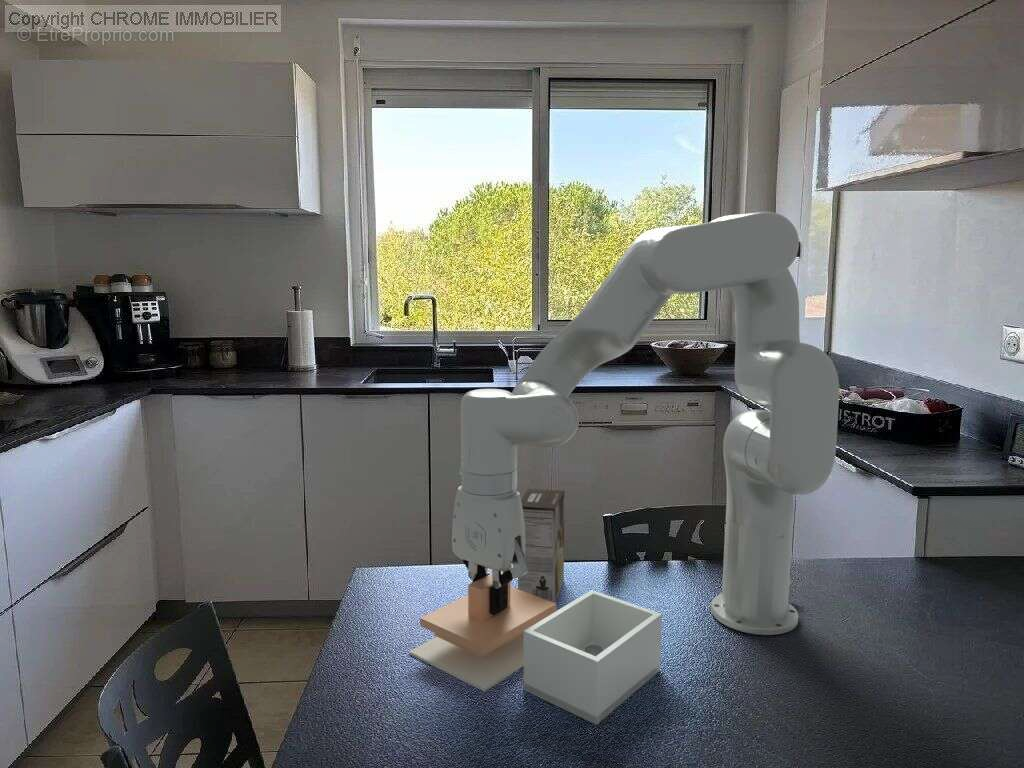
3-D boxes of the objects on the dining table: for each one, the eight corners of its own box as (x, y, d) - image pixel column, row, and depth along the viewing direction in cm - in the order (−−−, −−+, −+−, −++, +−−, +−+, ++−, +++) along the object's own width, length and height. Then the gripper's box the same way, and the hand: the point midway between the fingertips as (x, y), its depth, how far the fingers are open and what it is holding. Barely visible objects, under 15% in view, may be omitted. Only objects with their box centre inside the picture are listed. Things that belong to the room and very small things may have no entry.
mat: (495, 607, 115) (495, 604, 114) (568, 636, 106) (568, 633, 106) (409, 653, 101) (409, 651, 101) (484, 691, 92) (484, 689, 92)
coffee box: (527, 577, 125) (527, 487, 122) (564, 580, 124) (565, 489, 121) (516, 602, 116) (516, 505, 114) (556, 605, 115) (557, 507, 112)
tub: (590, 642, 104) (591, 589, 102) (660, 670, 97) (661, 613, 95) (523, 689, 92) (523, 631, 91) (596, 724, 85) (597, 661, 84)
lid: (495, 597, 112) (495, 553, 111) (556, 621, 105) (556, 573, 104) (420, 636, 101) (419, 586, 99) (482, 666, 93) (482, 613, 92)
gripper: (428, 475, 102) (430, 600, 105) (517, 499, 91) (517, 637, 94) (465, 464, 107) (466, 582, 110) (553, 485, 97) (552, 615, 100)
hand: (490, 606), depth 102 cm, fingers closed on lid, 2 cm apart
